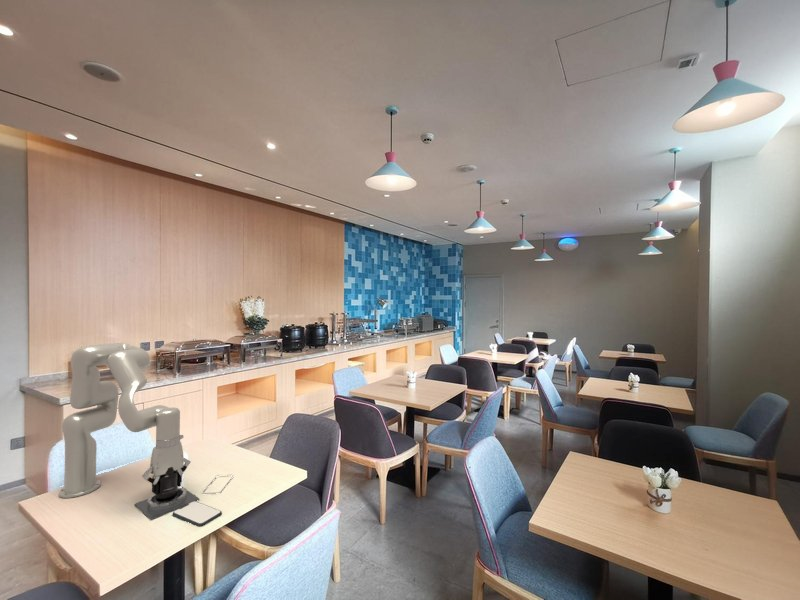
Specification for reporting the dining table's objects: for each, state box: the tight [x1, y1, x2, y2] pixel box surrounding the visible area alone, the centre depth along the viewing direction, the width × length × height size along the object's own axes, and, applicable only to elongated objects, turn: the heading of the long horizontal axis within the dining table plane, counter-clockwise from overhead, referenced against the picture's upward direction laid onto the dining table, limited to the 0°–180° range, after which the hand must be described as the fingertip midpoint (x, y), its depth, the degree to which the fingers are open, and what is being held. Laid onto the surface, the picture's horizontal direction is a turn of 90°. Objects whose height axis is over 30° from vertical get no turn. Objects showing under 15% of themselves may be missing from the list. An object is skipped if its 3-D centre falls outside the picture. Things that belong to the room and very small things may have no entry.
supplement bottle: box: [156, 467, 179, 502], centre depth 133 cm, size 7×7×12 cm
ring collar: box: [134, 486, 200, 521], centre depth 133 cm, size 16×16×3 cm
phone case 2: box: [200, 473, 234, 495], centre depth 146 cm, size 7×1×15 cm
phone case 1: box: [172, 501, 223, 528], centre depth 125 cm, size 9×2×16 cm
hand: (167, 489), depth 133 cm, fingers closed on supplement bottle, 6 cm apart
